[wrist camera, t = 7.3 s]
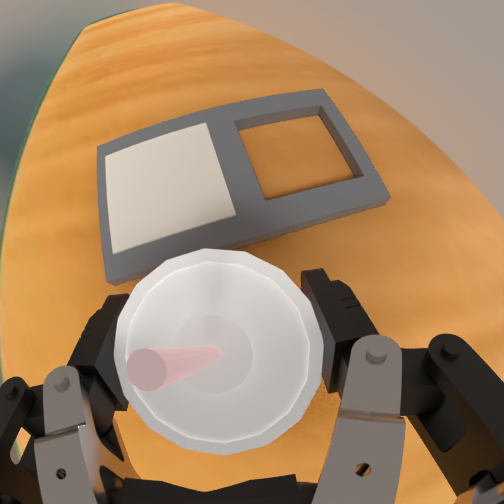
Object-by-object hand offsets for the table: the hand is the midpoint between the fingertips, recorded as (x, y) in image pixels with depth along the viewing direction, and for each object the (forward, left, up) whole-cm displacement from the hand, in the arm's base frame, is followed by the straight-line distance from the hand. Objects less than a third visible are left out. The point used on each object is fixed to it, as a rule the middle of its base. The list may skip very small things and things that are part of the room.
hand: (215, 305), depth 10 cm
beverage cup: (0, +2, -7) cm, 7 cm away
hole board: (-3, -13, -11) cm, 17 cm away
